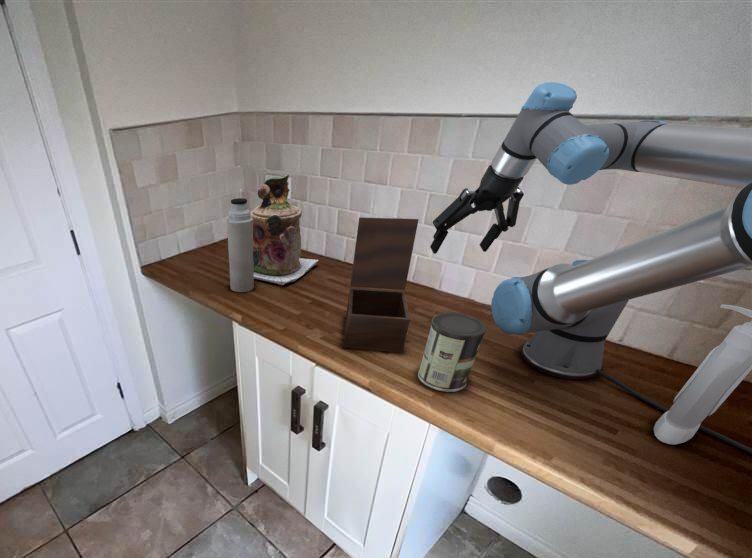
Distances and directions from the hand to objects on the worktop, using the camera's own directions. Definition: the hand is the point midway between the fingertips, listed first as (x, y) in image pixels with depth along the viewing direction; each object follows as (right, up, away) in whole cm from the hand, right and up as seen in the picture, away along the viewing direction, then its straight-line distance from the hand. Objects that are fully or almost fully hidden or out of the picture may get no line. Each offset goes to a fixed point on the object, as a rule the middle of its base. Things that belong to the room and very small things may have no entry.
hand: (457, 249), depth 105 cm
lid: (-20, -1, 0) cm, 20 cm away
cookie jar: (-44, +7, +44) cm, 63 cm away
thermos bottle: (-56, -2, +33) cm, 65 cm away
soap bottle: (+24, -44, -28) cm, 57 cm away
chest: (-21, -22, +4) cm, 31 cm away
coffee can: (-11, -34, -13) cm, 38 cm away
